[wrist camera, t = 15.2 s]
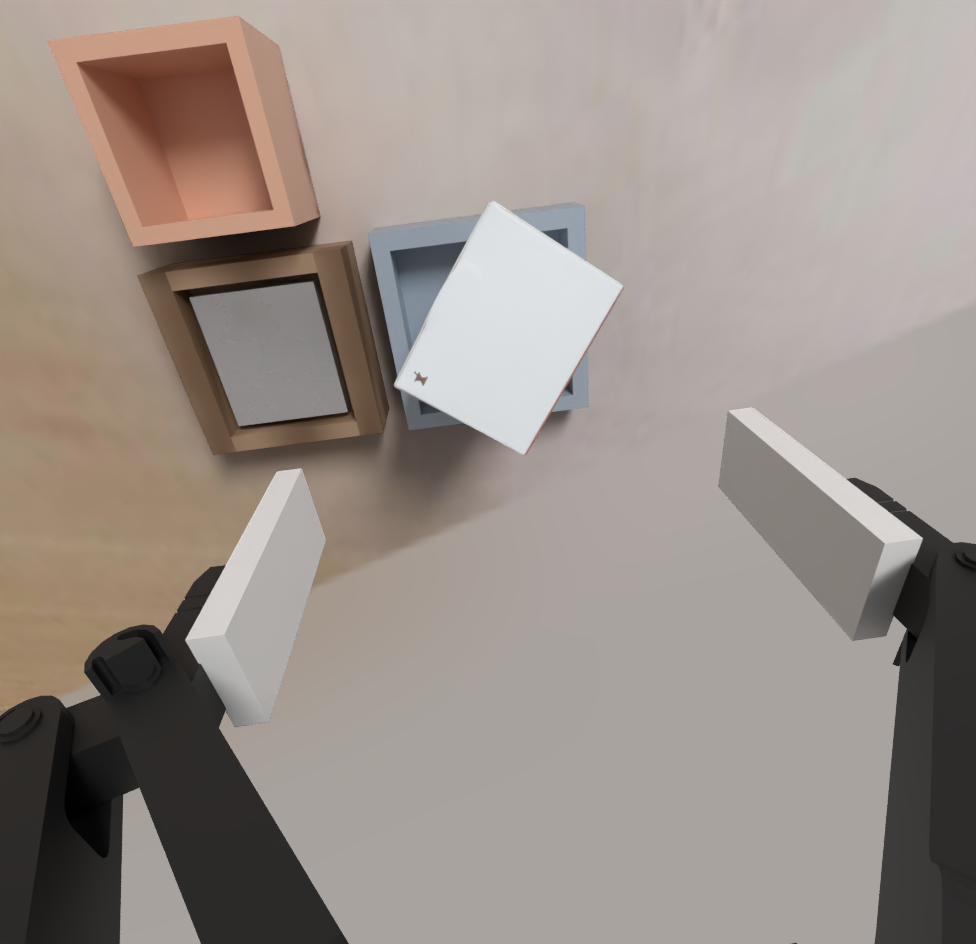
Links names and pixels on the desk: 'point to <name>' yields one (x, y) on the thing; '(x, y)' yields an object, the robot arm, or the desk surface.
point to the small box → (507, 330)
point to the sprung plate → (273, 351)
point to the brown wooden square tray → (324, 262)
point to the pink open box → (191, 128)
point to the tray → (424, 269)
